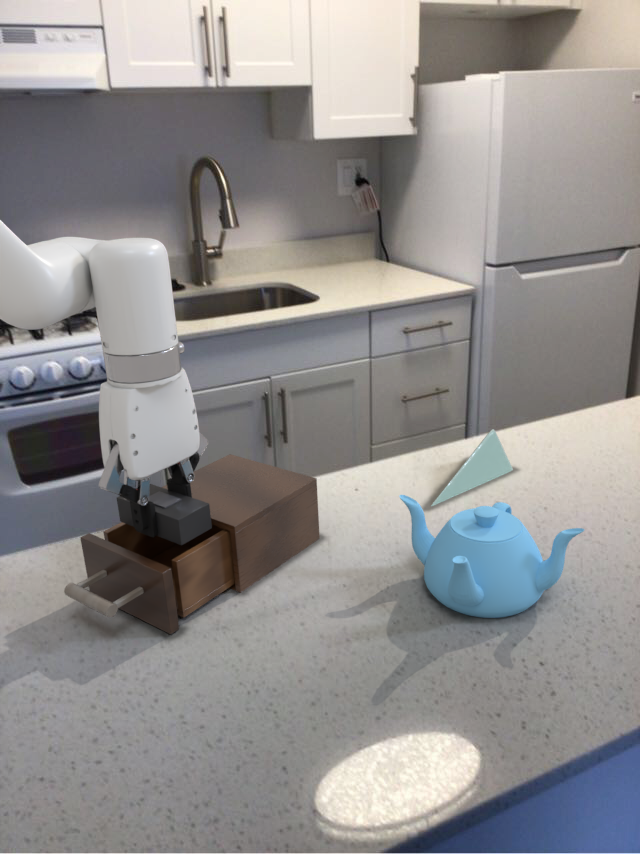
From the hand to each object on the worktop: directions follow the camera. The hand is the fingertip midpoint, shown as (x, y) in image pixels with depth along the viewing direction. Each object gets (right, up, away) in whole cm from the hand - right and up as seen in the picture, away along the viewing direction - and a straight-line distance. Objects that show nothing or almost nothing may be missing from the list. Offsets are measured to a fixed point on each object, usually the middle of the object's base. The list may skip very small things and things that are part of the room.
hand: (164, 521), depth 83 cm
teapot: (+35, -8, 0) cm, 36 cm away
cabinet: (+7, -5, +11) cm, 14 cm away
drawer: (-1, -8, +1) cm, 9 cm away
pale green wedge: (+39, +1, +25) cm, 46 cm away
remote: (0, 0, 0) cm, 0 cm away
